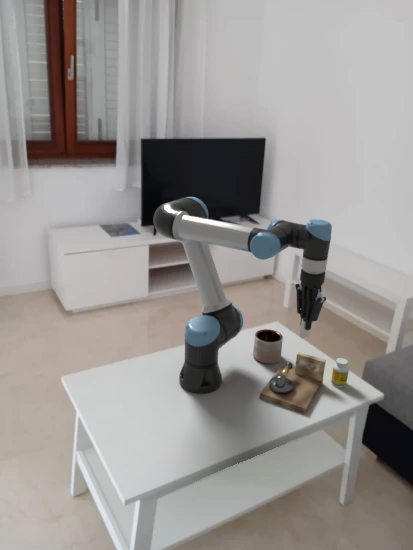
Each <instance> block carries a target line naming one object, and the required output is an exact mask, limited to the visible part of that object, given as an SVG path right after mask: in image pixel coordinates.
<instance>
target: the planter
mask: <svg viewBox="0 0 413 550" xmlns="http://www.w3.org/2000/svg"><path fill="white" fill-rule="evenodd" d="M283 340H284V336H283V334H282V333H281V332H280V331H278V330H274V329H268V328H267V329H265V328H264V329H260V330H258V331H256V332H255V334H254V340H253V341H254V342H253V350H252V351H253V352H252V355H253V358H254V360H256V361H257V362H259V363H262V364H267V365H269V364H270V365H272V364H275V363H278V362H279V361H280V360H281V357H282V351H283V350H282V348H283Z"/></svg>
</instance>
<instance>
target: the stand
mask: <svg viewBox="0 0 413 550" xmlns="http://www.w3.org/2000/svg"><path fill="white" fill-rule="evenodd" d="M325 367H326V359H324V358H320V357H317V356H313V355H309V354H306V353H302V352H299V351H298V352H297V354H296V360H295V367H294V368H292V369H290V370H289V372H288V373H287V375H286V376H285V377H286V378H288V379H290V380H291V381H292V382H293V389H292V391H291V392H290V393H288V394H277V393H275V392H273V391H272V390H271V389H270V388H269V382H270V380H269V381H268V382H267V383H266V384H265V386H264V388H263V389H262V390H261V391H260V392H259V399H261V400H264V401H267V402H270V403H273V404H274V405H275V404H276V405H277V406H278V405H279V406H281V407H284V408H288V409H290V410H292V411H296V412H298V413H300V414H306V413H307V411H308V410H309V408H310V407H311V404H312V403H313V401H314V399H315V397H316V396H317V394H318V392H319V391H320V389H321V387H322V386H323V382H324V375H325ZM284 368H285V366H284V365H283V366H282V365H280V366H279V368H278V369H277V371H276V372H274V374H273V376H271V378H273V377H276V375H277V374H281V373H282V371H283V370H284Z"/></svg>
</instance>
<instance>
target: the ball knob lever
mask: <svg viewBox="0 0 413 550" xmlns="http://www.w3.org/2000/svg"><path fill="white" fill-rule="evenodd" d="M284 367H285V368H284V370H283V371H282V373H281V374H277V375H276V377H273V376H272V377H273V378H272V377H271V378H270V380H269V381H270V382H269V381H268V382H269V388H270V389H271V390H272V391H273V392H275V393H277V394H288V393H290V392H291V391H292V389H293V382H292V381H291V380H290V379H288V378H286V377H285V376H286V375H287V373H288V372H289V370H290V369H293V367H294V364H293V363H292V362H289V361H288V362H286V363H285V366H284Z"/></svg>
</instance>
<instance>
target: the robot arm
mask: <svg viewBox="0 0 413 550" xmlns="http://www.w3.org/2000/svg"><path fill="white" fill-rule="evenodd" d="M152 218H153V221H152V223H153V226H154V228H155V230H156V231H157V233H159V235H161V237H162V236H163V237H164V238H167V239H172V240H175V241H177V242H179V243H181V244H182V246H183V249H184V253H185V255H186V258H187V261H188V264H189V267H190V269H191V273H192V275H193V278H194V281H195V285H196V288H197V290H198V293H199V296H200V299H201V302H202V304H203V306H202V308H201V311H200V312H201V315H200V316H198V315H197V316H194V317H193V318H191V319H189V320H188V322H187V323H186V325H185V332H184V362H183V364H182V367H181V370H180V372H179V378H178V381H179V385H180V386H181V387H182V388H183V389H184V390H186V391H188V392H190V393H195V394H208V393H211V392H215V391H216V390H217V389H219V388H220V387H221V385H222V383H223V381H222V380H223V378H222V377H223V376H222V372H221V369H220V368H221V367H220V365H219V349H221V348H222V347H223V346H225V345H226V344H227V343H229V342H230V341H231V340H233V339H234V338H235V337H236V336H238V334H239V333H240V332H241V331H242V328H243V327H244V317H243V314H242V312H241V310H240V309H239V308H237V306H235V305H233V302H232V300H231V299H228V298H227V297H226V295H225V291H224V289H223V285H222V282H221V280H220V277H219V273H218V271H217V267H216V264H215V261H214V259H213V255H212V251H211V249H210V246H209V245H213V246H218V247H222V248H223V247H224V248H228V249H232V250H233V249H234V250H238V251H242V252H246V253H247V252H248V253H251V254H252V255H253V256H254V257H256V258H257V259H259V260H268V259H270V258H273V257H275V256H276V255H278V254H279V253H281V252H282V251H284V250H286V249H287V248H289V247H290V248H294V249H299V250H303V252H302V258H301V264H300V266H301V269H300V275H299V281H300V282H299V283H296V284H295V290H296V291H295V292H296V313H297V314H298V315H300V325H299V326H300V327H299V328H300V330H299V338H301V339H307V338H310V331H311V330H312V329H311V328H312V324H313V322H317V321H318V319H319V317H320V314H321V311H322V308H323V305H324V303H325V302H326V301H327V297H326V296H323V294H322V292H323V290H322V286H323V284H324V283H325V280H326V279H325V278H326V270H327V264H328V258H329V257H328V256H329V251H330V244H331V240H332V227H333V225H332V224H331V222H329V221H327V220H324V219H315V218H314V219H309V220H307V222H306V224H301V223H297V222H292V221H287V220H284V219H272V220H271V221H270V222H269V224H268V226H267V228H266V229H264V228H258V227H254V226H250V225H249V226H248V225H243V224H238V223H233V222H232V223H231V222H227V221H222V220H216V219H211V218H209V211H208V207H207V205H206V204H205V203H204V202H203V201H202V199H199V198H197V197H194V196H186V197H181V198H179V199H175V200H172V201H170V202H165V203H163V204H160V205H159V206H158V207H157V208H156V210H155V212H154V215H153V217H152Z"/></svg>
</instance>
